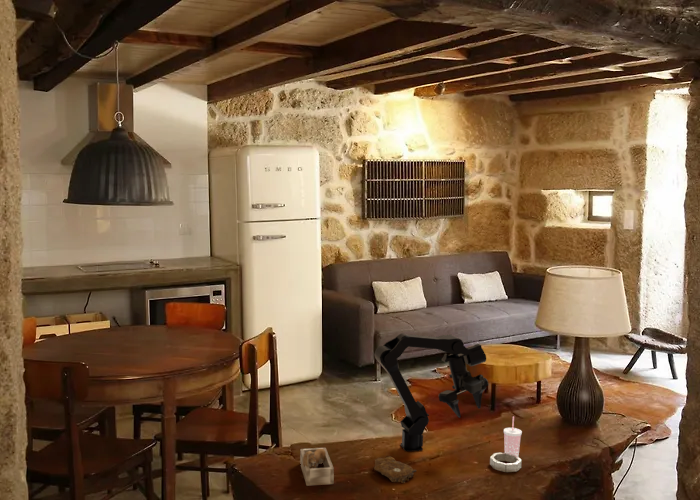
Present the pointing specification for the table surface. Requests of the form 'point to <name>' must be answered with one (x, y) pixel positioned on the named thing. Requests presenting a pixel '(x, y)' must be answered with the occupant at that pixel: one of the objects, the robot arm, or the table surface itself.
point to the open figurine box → (317, 470)
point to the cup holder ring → (505, 466)
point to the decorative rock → (394, 469)
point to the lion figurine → (313, 458)
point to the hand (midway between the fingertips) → (469, 412)
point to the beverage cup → (512, 439)
